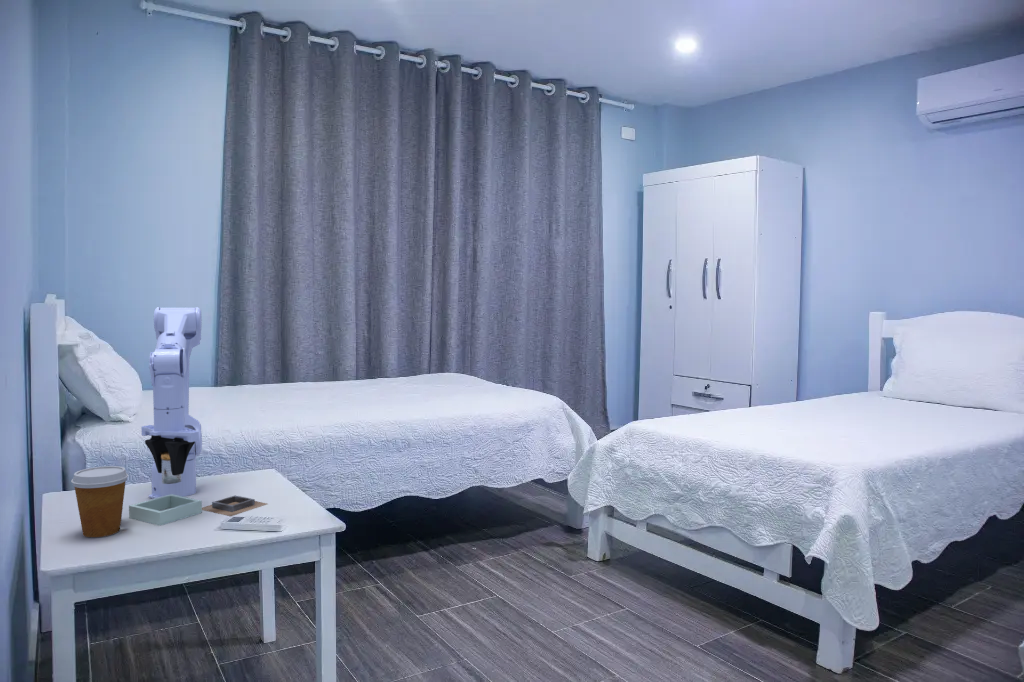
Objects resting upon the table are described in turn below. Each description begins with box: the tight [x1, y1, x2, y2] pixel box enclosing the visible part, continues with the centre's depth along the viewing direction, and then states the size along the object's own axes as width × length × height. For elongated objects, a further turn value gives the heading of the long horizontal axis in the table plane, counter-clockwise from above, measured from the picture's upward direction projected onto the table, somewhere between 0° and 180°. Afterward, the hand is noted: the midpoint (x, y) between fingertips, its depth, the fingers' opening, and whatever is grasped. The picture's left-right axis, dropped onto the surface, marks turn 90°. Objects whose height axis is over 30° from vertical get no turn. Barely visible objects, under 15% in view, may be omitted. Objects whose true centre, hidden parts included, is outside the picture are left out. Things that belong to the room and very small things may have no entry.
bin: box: [128, 494, 203, 527], centre depth 146 cm, size 10×10×4 cm
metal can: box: [161, 451, 181, 484], centre depth 146 cm, size 4×4×6 cm
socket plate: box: [202, 495, 268, 517], centre depth 152 cm, size 10×10×2 cm
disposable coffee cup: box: [71, 465, 129, 538], centre depth 137 cm, size 10×10×12 cm
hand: (170, 473), depth 145 cm, fingers closed on metal can, 4 cm apart
